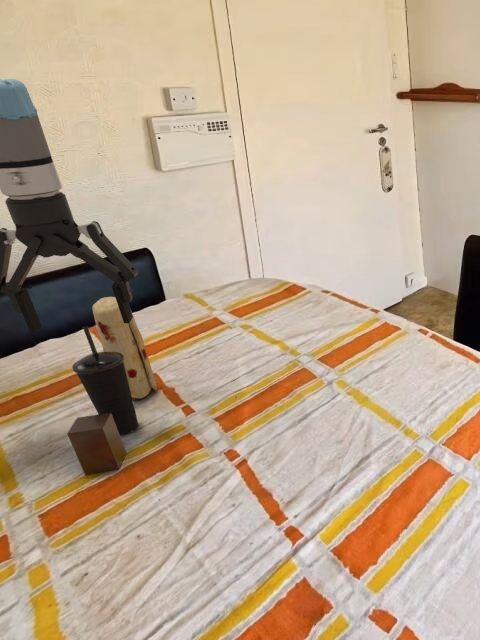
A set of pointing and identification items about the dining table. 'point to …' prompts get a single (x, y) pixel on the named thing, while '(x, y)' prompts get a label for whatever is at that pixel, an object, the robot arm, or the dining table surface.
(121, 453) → the block
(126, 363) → the food model
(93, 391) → the drinking cup
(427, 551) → the dining table surface
